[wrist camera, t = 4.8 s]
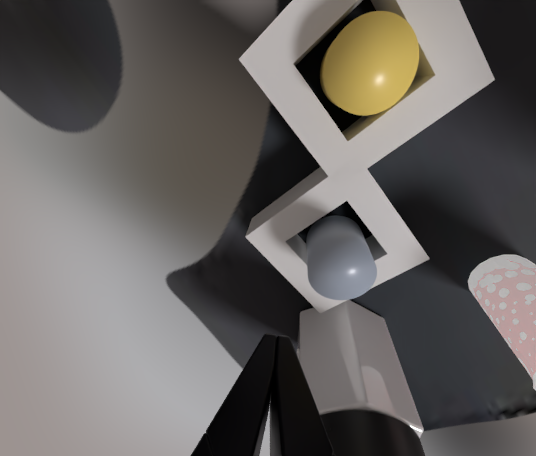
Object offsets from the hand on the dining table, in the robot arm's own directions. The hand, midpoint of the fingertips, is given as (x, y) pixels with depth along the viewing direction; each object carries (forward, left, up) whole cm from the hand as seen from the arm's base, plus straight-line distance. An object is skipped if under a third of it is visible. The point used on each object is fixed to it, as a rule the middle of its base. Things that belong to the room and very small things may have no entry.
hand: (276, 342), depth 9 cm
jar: (+5, +14, -13) cm, 20 cm away
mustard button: (-8, -4, -12) cm, 15 cm away
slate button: (-1, +4, -11) cm, 12 cm away
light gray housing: (-1, +4, -13) cm, 14 cm away
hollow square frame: (-8, -4, -13) cm, 16 cm away
